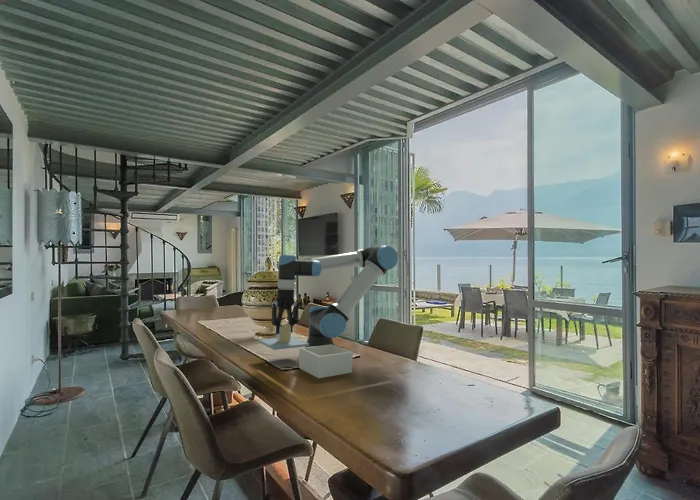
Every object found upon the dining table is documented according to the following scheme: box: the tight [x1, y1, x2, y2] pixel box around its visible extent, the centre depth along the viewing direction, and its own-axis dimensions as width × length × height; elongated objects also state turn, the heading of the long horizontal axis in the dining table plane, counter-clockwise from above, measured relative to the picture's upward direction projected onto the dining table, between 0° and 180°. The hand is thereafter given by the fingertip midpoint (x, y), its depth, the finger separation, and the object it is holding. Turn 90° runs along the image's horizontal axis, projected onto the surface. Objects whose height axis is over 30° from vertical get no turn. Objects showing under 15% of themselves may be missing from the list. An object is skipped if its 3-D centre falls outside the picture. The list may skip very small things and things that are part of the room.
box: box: [298, 344, 354, 379], centre depth 159 cm, size 16×16×9 cm
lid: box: [258, 322, 309, 351], centre depth 173 cm, size 17×17×9 cm
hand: (283, 340), depth 173 cm, fingers closed on lid, 4 cm apart
